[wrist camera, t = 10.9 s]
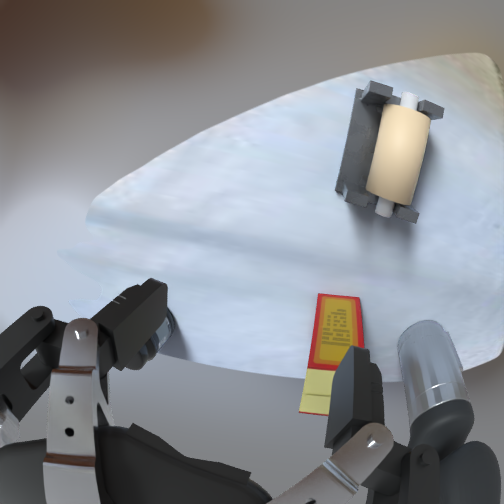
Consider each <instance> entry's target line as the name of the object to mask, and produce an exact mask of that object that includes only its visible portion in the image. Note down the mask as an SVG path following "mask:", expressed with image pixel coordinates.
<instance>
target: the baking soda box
mask: <svg viewBox="0 0 504 504" xmlns="http://www.w3.org/2000/svg"><path fill="white" fill-rule="evenodd" d="M351 345H353V346H357V347H361V348H364V338H363V326H362V316H361V307H360V299H359V297H350V296H339V295H329V294H319V293H318V299H317V307H316V314H315V322H314V329H313V336H312V342H311V349H310V355H309V361H308V367H307V372H306V378H305V383H304V389H303V394H302V399H301V404H300V409H299V413H306V414H313V415H324V416H329V408H330V399H331V389H332V380H333V377H334V374H335V371H336V369H337V368H338V366H339V364H340V363H341V361H342V359H343V358H344V356H345V354H346V352H347V351H348V349H349V347H350V346H351Z"/></svg>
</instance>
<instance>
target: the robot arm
mask: <svg viewBox="0 0 504 504" xmlns="http://www.w3.org/2000/svg"><path fill="white" fill-rule="evenodd" d="M167 291H168V287H167V284H165V283H163V282H160V281H158V280H155V279H153V278H150V279H148V280H147V281H146V282H144V283H143V284H142V285H141V286H140V285H138V284H137V285H135V286H132V287H129V288H127V289H126V290H124V291H123V292H122V293H121V294H120V295H119V296H117V297H116V298H115V299H113V301H111V302H110V303H109V304H107V305H106V306H105V307H104V308H103V309H102V310H100V311H99V312H98V313H97V314H96V315H94V316H93V317H92V318H91V319H87V318H78V319H75V320H72V321H71V322H70V323H66V322H62V321H59V320H55V319H54V318H53V315H52V312H51V310H50V309H49V308H47V307H45V306H37V307H33V308H31V309H30V310H28V311H27V312H26V313H25V314H23V315H22V316H21V317H20V318H19V319H17V320H16V321H15V322H14V323H13V324H12V325H10V326H9V327H8V328H7V329H6V330H5V331H4V332H2V333H1V334H0V504H346V503H347V502H348V501H349V500H350V499H351V498H352V497H353V496H354V495H355V494H356V493H357V491H358V489H357V488H358V487H359V485H362V486H364V487H366V488H368V494H367V501H366V504H500V495H501V477H500V469H499V464H498V461H497V458H496V456H495V454H494V452H493V451H492V450H491V448H490V447H489V446H487V445H486V444H485V443H482V442H479V441H472V442H468V443H466V444H464V442H465V440H466V438H467V436H468V434H469V433H470V431H471V429H472V426H473V424H474V413H473V409H472V406H471V402H470V399H469V396H468V392H467V389H466V387H465V384H464V381H463V378H462V375H461V372H462V371H463V367H462V364H461V362H460V359H459V356H458V354H457V351H456V349H455V347H454V344H453V342H452V339H451V337H450V335H449V333H448V332H446V331H444V329H443V327H442V326H441V325H440V324H439V323H437V322H435V321H422V322H419V323H416V324H414V325H412V326H411V327H409V328H408V329H407V330H406V331H405V332H404V333H403V334H402V336H401V337H400V339H399V341H398V353H399V358H400V363H401V369H402V375H403V380H404V387H405V393H406V400H407V408H408V415H409V424H410V441H409V444H408V447H406V446H403V445H401V444H399V443H397V442H395V441H394V439H393V435H392V433H391V431H390V430H389V429H388V428H387V427H386V426H385V424H384V402H383V395H382V393H383V387H382V376H381V372H380V370H379V369H378V367H377V365H376V364H374V363H370V354H369V350H368V349H365V348H361V347H357V346H353V345H351V346H350V347H349V349H348V351H347V352H346V354H345V356H344V358H343V359H342V361H341V363H340V364H339V366H338V368H337V369H336V371H335V374H334V377H333V380H332V389H331V399H330V408H329V416H328V424H327V431H326V439H325V445H324V447H325V448H331V449H333V452H332V456H331V457H330V458H328V459H327V460H326V461H325V462H324V463H322V464H321V465H320V466H319V467H317V468H316V469H315V470H314V471H312V472H311V473H310V474H309V475H307V476H306V477H304V478H303V479H302V480H300V481H299V482H298V483H296V484H295V485H293V486H292V487H291V488H289V489H288V490H287V491H285V492H283V493H282V494H280V495H279V496H277V497H276V498H274V499H272V497H271V496H270V495H269V494H268V492H267V491H266V490H264V489H263V488H262V487H261V486H260V485H258V484H257V483H256V482H254V481H252V480H250V479H249V477H250V474H251V472H248V471H245V470H241V469H238V468H235V467H232V466H229V465H226V464H223V463H220V462H212V461H206V460H200V459H194V458H189V457H186V456H184V455H182V454H181V453H179V452H178V451H177V450H175V449H174V448H173V447H172V446H170V445H169V444H168V443H166V442H165V441H164V440H163V439H161V438H160V437H159V436H156V435H155V434H152V433H151V432H149V431H147V430H145V429H143V428H141V427H139V426H137V425H136V424H134V423H133V424H132V425H131V427H130V428H124V427H119V426H115V425H114V421H113V416H112V412H111V402H110V384H109V370H110V369H111V368H112V367H115V368H116V369H118V370H120V371H122V370H123V369H124V367H125V366H126V365H127V364H128V363H129V362H130V360H131V359H132V358H133V357H134V356H135V355H136V353H137V352H138V351H139V350H140V349H141V348H142V347H143V345H144V344H145V343H146V342H147V341H148V340H149V339H150V337H151V336H152V335H153V334H154V333H155V332H156V331H157V329H158V328H159V327H160V326H161V325H162V324H163V322H164V320H165V318H166V315H167ZM34 349H36V351H37V354H36V355H35V356H34V357H33V358H32V359H31V360H30V361H29V362H28V363H27V364H26V365H25V366H24V367H23V368H22V369H21V370H20V366H21V363H22V362H23V360H24V359H25V358H26V357H27V356H28V355H29V354H30V353H31V352H32V351H33V350H34ZM49 386H50V389H49V400H48V415H47V438H45V439H39V440H32V441H25V442H17V443H15V441H17V440H18V439H19V438H20V432H19V422H20V421H21V420H22V418H23V417H24V416H25V414H26V413H27V412H28V411H29V410H30V409H31V407H32V406H33V405H34V404H35V403H36V401H37V400H38V399H39V398H40V397H41V395H42V394H43V393H44V392H45V391H46V390H47V388H48V387H49Z"/></svg>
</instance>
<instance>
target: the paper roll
mask: <svg viewBox="0 0 504 504" xmlns="http://www.w3.org/2000/svg"><path fill="white" fill-rule="evenodd" d="M418 100H419V97H418V96H416V95H414V94H412V93H409V92H402V96H401V102H400V106H399V105H394V104H384V107H383V112H382V118H381V123H380V128H379V133H378V137H377V142H376V147H375V151H374V155H373V160H372V164H371V168H370V172H369V176H368V180H367V184H366V188H365V189H366V190H367V191H369V192H371V193H373V194H375V195H377V196H379V199H378V203H377V206H376V209H375V212H376V213H377V214H379V215H381V216H384V217H388V218H391V215H392V212H393V209H394V205H395V202H397V203H400V204H404V205H411V202H412V199H413V195H414V192H415V188H416V185H417V181H418V177H419V173H420V169H421V165H422V161H423V157H424V153H425V148H426V144H427V139H428V134H429V129H430V123H431V119H430V118H429V117H427V116H426V115H424V114H422V113H420V112H418V111H417V106H418Z"/></svg>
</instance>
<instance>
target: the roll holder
mask: <svg viewBox="0 0 504 504" xmlns="http://www.w3.org/2000/svg"><path fill="white" fill-rule="evenodd" d="M392 91H393V87H390V86H387V85H383V84H380V83H377V82H374V81H370V82H369V84H368V85H367V87H366V88H365V90H361V89H358V88H357V89H356V93H355V98H354V104H353V109H352V114H351V119H350V124H349V129H348V134H347V139H346V144H345V148H344V153H343V157H342V162H341V166H340V170H339V174H338V179H337V183H336V187H335V191H339V192H342V193H343V196H344V200H345V201H346V202H349V203H353V204H356V205H359V206H363V207H367V204H368V202H369V203H372V204H375V205H377V203H378V199H379V196H377V195H375V194H373V193H371V192H369V191H367V190H366V189H365V188H366V184H367V180H368V176H369V172H370V168H371V164H372V160H373V155H374V151H375V147H376V142H377V137H378V133H379V128H380V123H381V118H382V112H383V107H384V104H394V105H399V106H400V102H401V98H399V97H396V96H393V95H392ZM417 111H418V112H420V113H422V114H424V115H426V116H427V117H429V118H430V119H431V120H435V119H442V118H443V113H444V108H443V107H440V106H438V105H436V104H434V103H431V102H429V101H427V100H423V101H420V102H418V106H417ZM393 213H394V214H395V215H396V217H398V218H401V219H404V220H407V221H410V222H413V223H415V224H416V222H417V219H418V216H419V213H418V212H417V211H416V210H415V209H414V208H413V207H412V206H411V205H404V204H400V203H397V202H395V205H394V209H393Z"/></svg>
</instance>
